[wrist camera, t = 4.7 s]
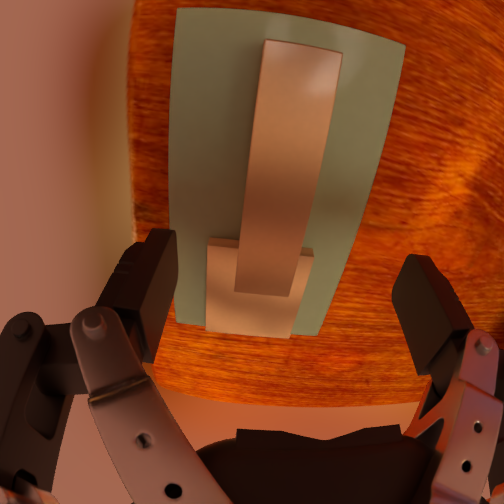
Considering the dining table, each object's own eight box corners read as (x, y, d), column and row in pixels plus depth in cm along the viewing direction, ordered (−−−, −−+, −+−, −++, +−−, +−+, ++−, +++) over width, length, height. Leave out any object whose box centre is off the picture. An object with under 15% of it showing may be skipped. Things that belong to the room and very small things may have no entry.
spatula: (224, 39, 11) (209, 34, 7) (356, 60, 11) (391, 66, 8) (207, 321, 21) (198, 371, 17) (288, 329, 21) (291, 379, 18)
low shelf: (183, 292, 23) (175, 322, 21) (191, 15, 12) (176, 7, 10) (312, 305, 24) (317, 336, 21) (383, 44, 12) (406, 45, 10)
